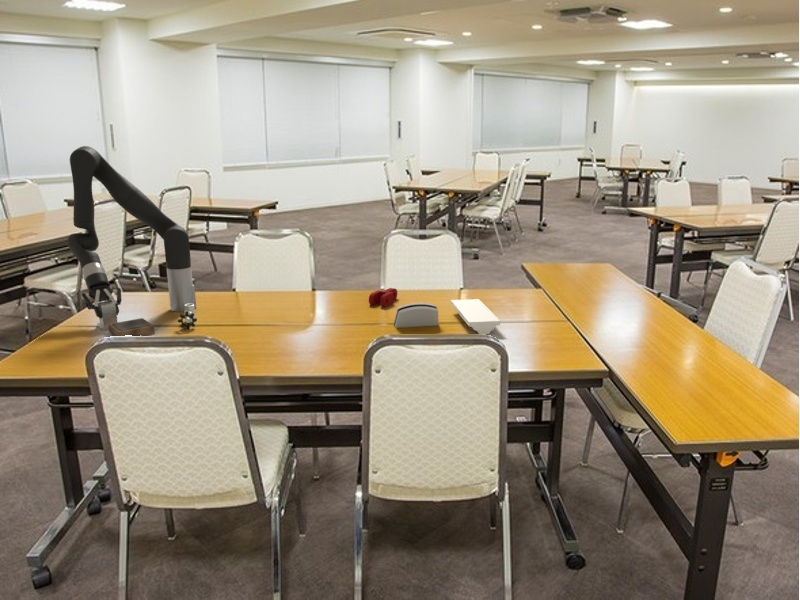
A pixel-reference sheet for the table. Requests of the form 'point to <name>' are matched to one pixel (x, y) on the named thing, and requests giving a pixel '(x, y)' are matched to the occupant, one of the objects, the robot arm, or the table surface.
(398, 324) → the grey napkin holder
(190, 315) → the valve
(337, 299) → the table surface
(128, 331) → the stand
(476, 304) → the shelf
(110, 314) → the block
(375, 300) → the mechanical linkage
